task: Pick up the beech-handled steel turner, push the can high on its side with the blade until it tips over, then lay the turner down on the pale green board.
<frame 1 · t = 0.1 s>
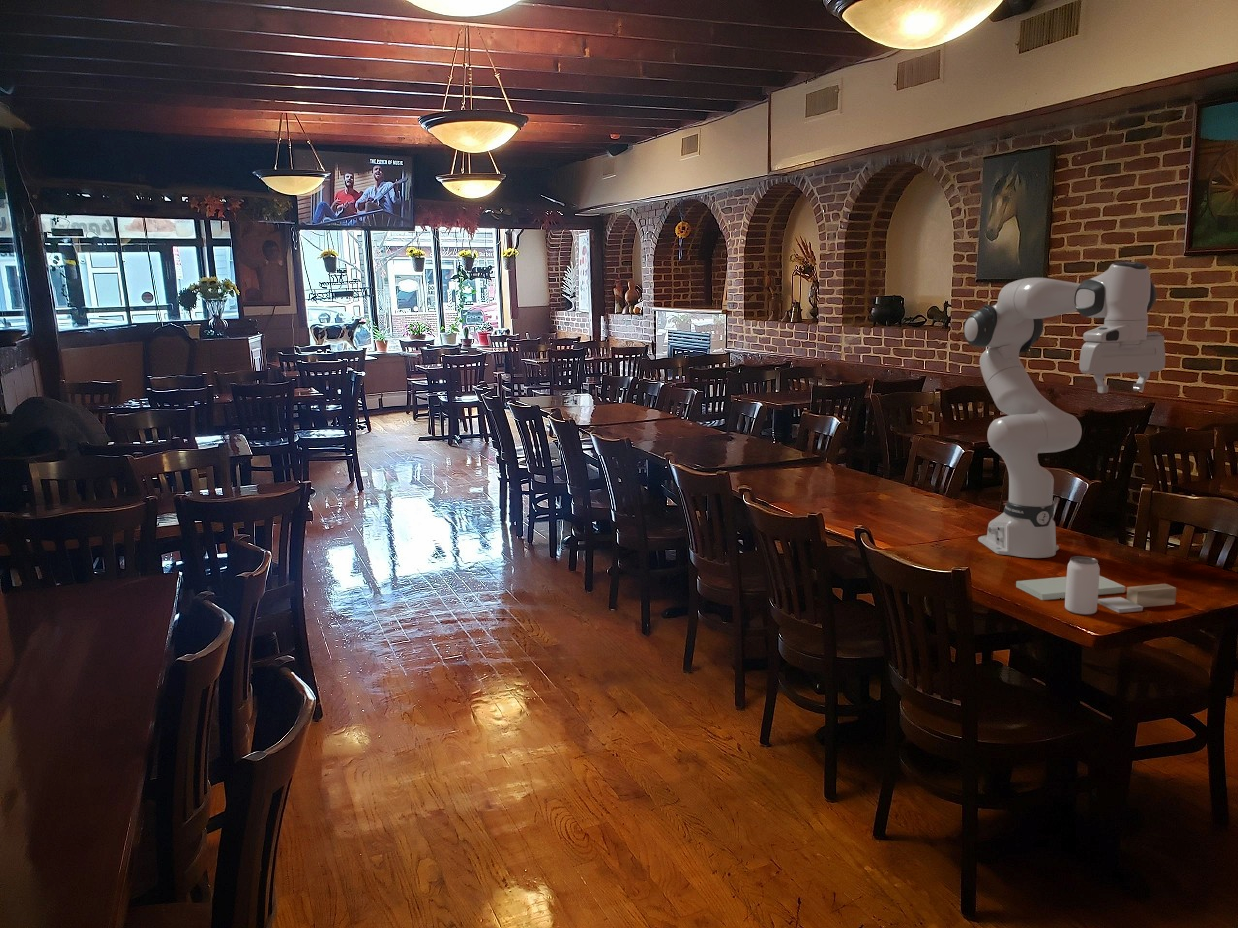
hand: (1120, 391, 203), 48 cm above the table, tool pointing down, fingers open, 8 cm apart
can: (1080, 611, 197), on the table
turner: (1131, 605, 199), on the table
rest board: (1069, 589, 210), on the table
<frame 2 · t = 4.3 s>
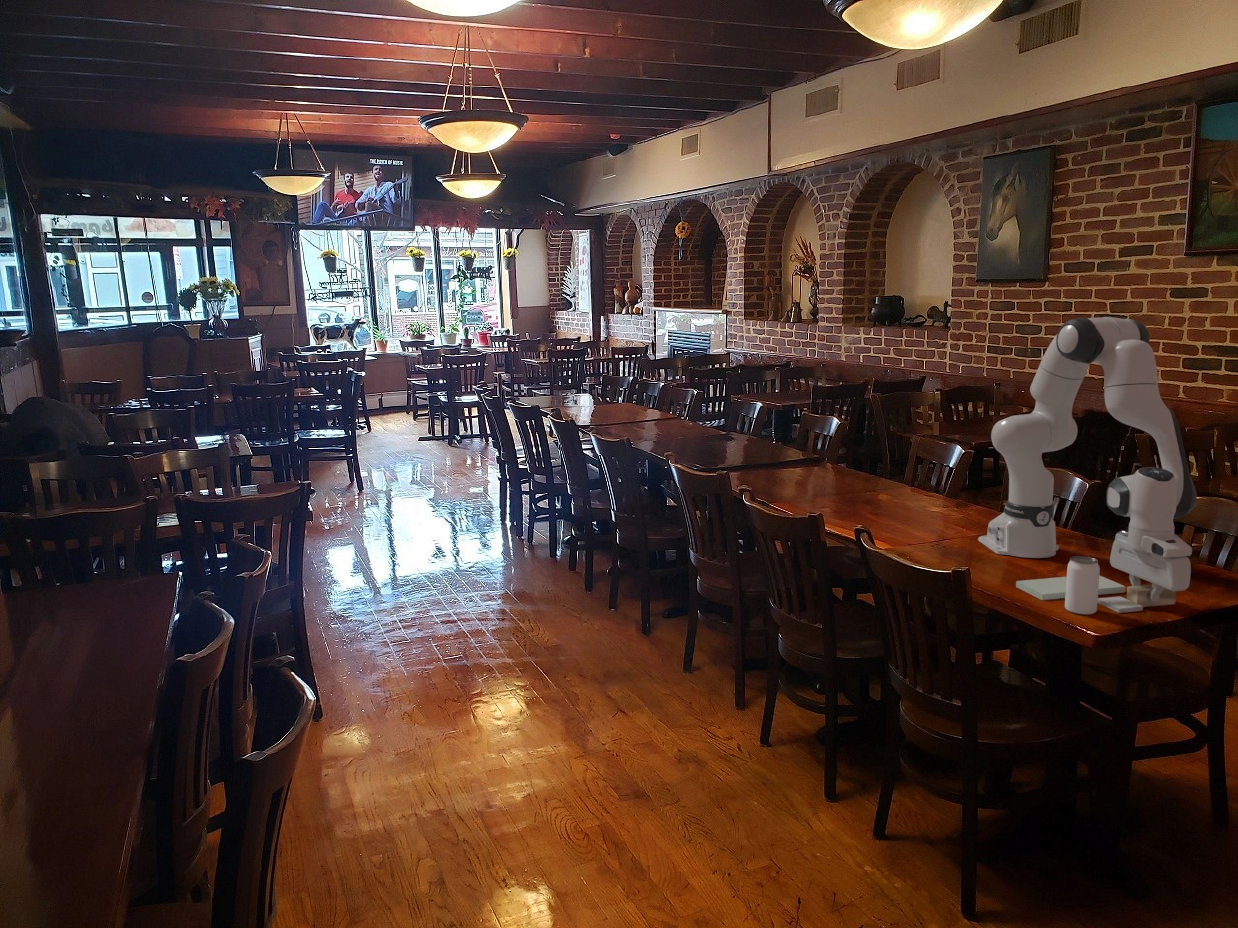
hand: (1145, 597, 199), 2 cm above the table, tool pointing down, fingers closed on turner, 3 cm apart
turner: (1131, 605, 199), on the table, touching gripper
everything else where it was.
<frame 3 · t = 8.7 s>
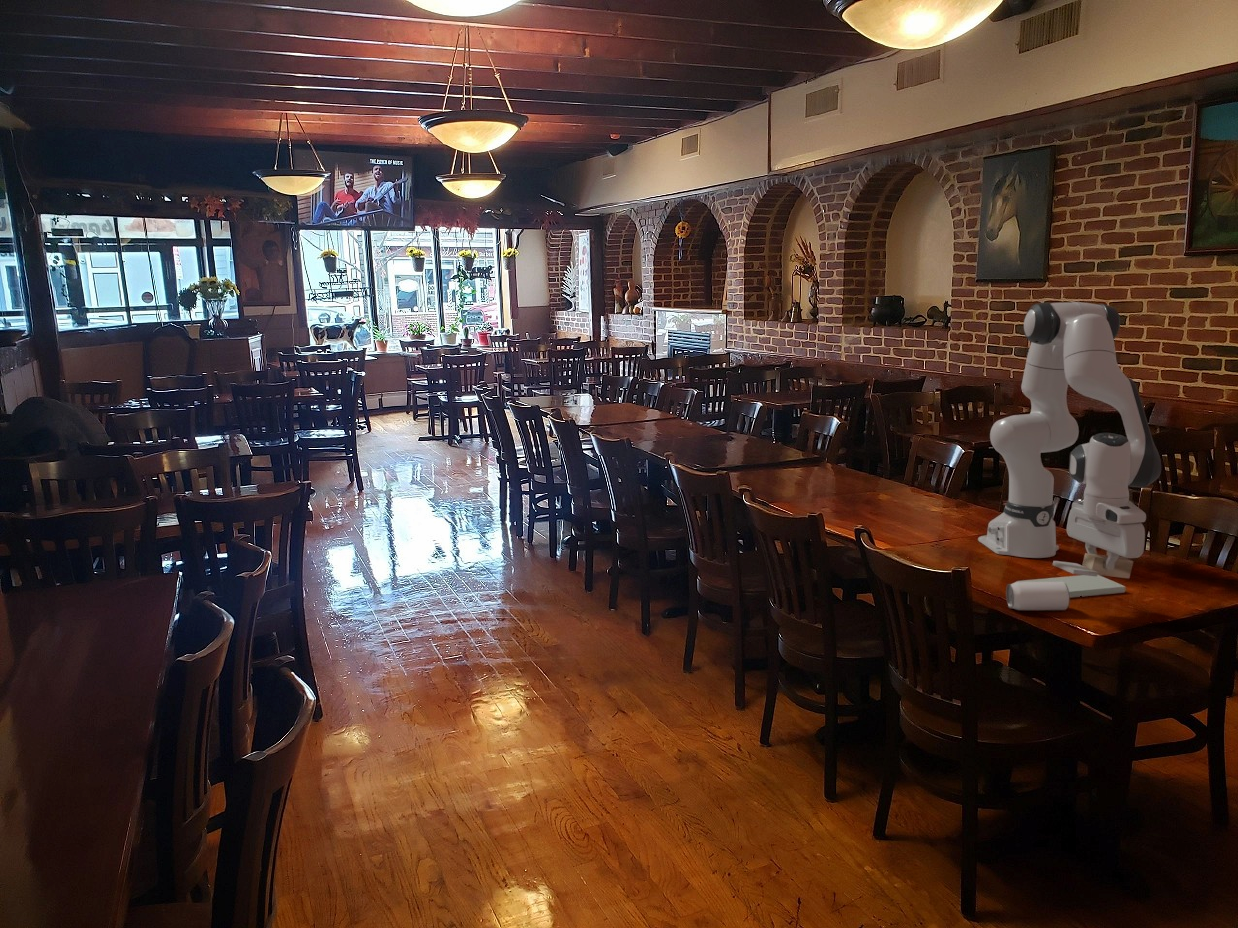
hand: (1100, 566, 195), 10 cm above the table, tool pointing down, fingers closed on turner, 3 cm apart
can: (1066, 595, 197), point 3 cm above the table
turner: (1085, 571, 195), point 9 cm above the table, tilted 11°, touching gripper
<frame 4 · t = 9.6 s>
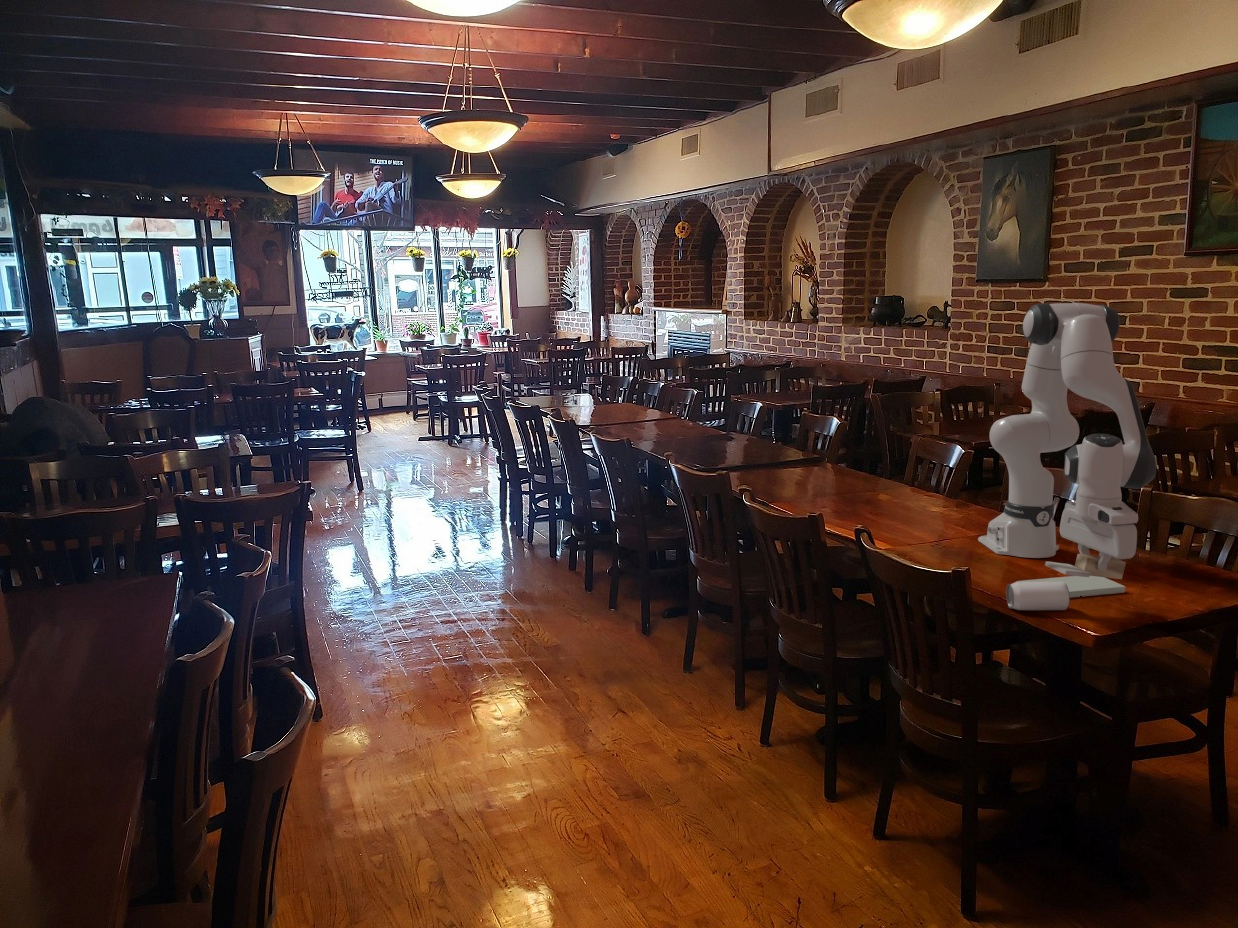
hand: (1093, 566, 195), 10 cm above the table, tool pointing down, fingers closed on turner, 3 cm apart
turner: (1078, 572, 195), point 9 cm above the table, tilted 11°, touching gripper
everything else where it was.
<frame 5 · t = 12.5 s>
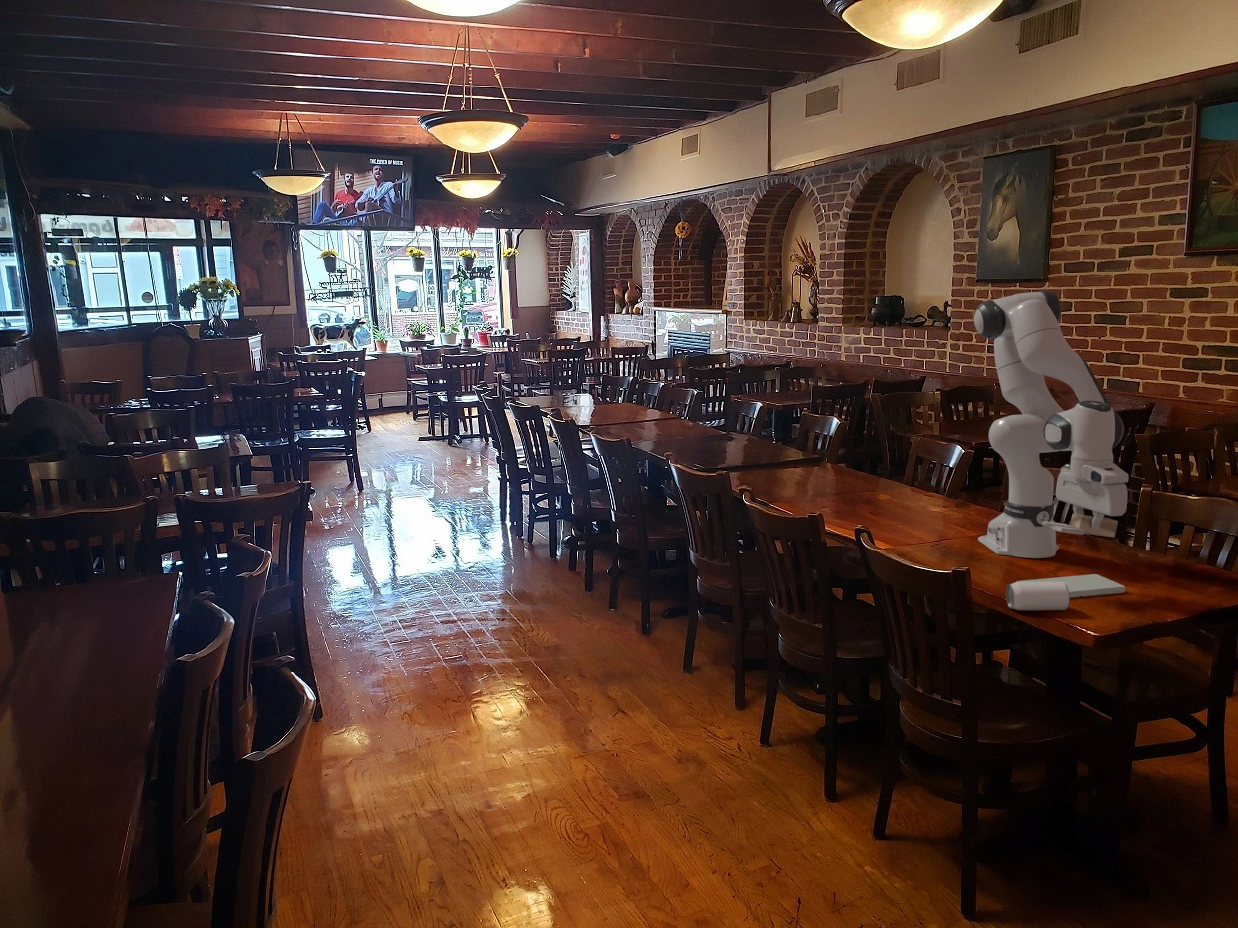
hand: (1087, 526, 208), 16 cm above the table, tool pointing down, fingers closed on turner, 3 cm apart
turner: (1073, 531, 207), point 15 cm above the table, tilted 11°, touching gripper
everything else where it was.
when the fingers open (5 cm above the table, at t = 15.0 s): turner drops 2 cm, resting on rest board.
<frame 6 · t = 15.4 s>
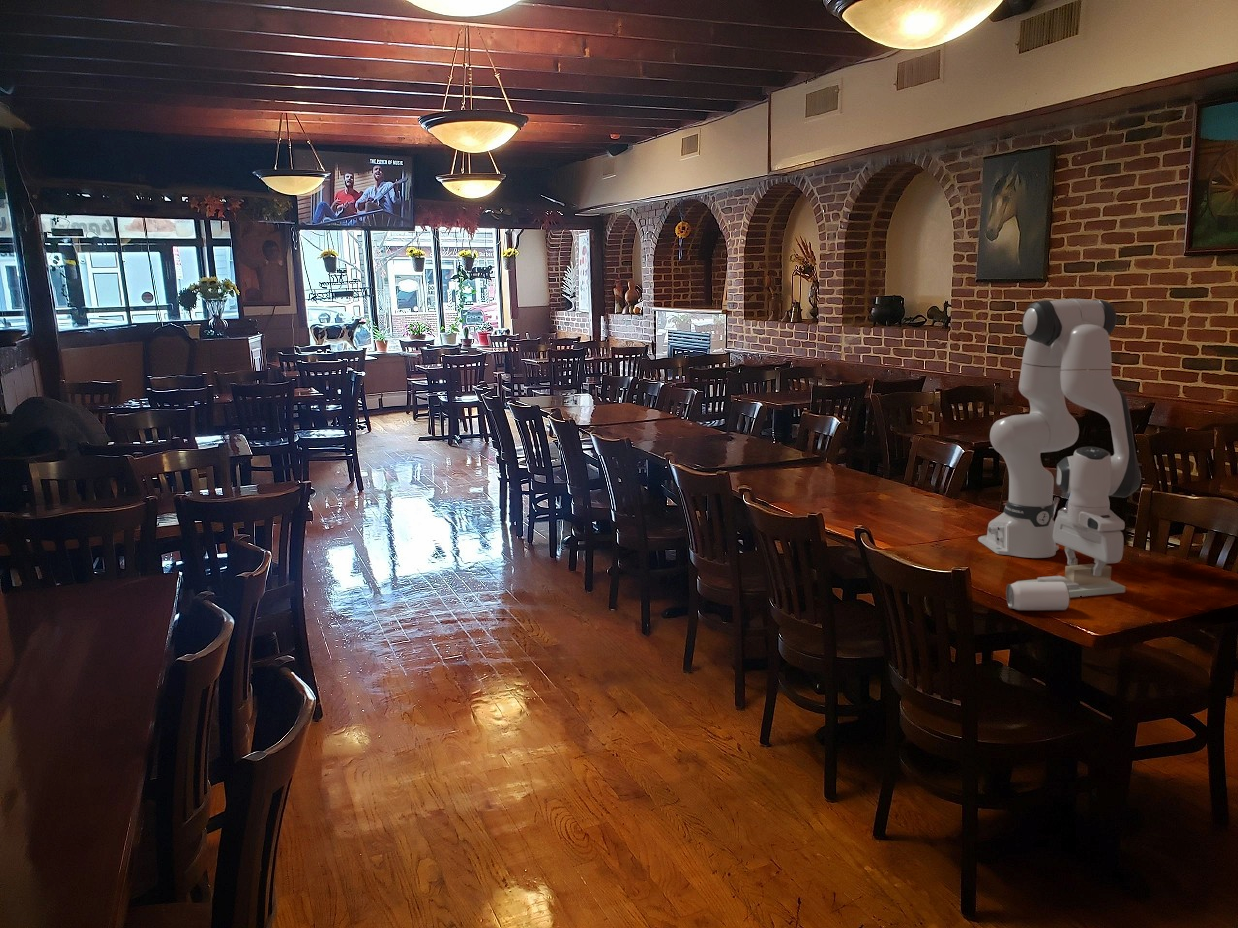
hand: (1083, 570, 210), 5 cm above the table, tool pointing down, fingers open, 7 cm apart
turner: (1068, 583, 210), point 1 cm above the table, touching rest board
everything else where it was.
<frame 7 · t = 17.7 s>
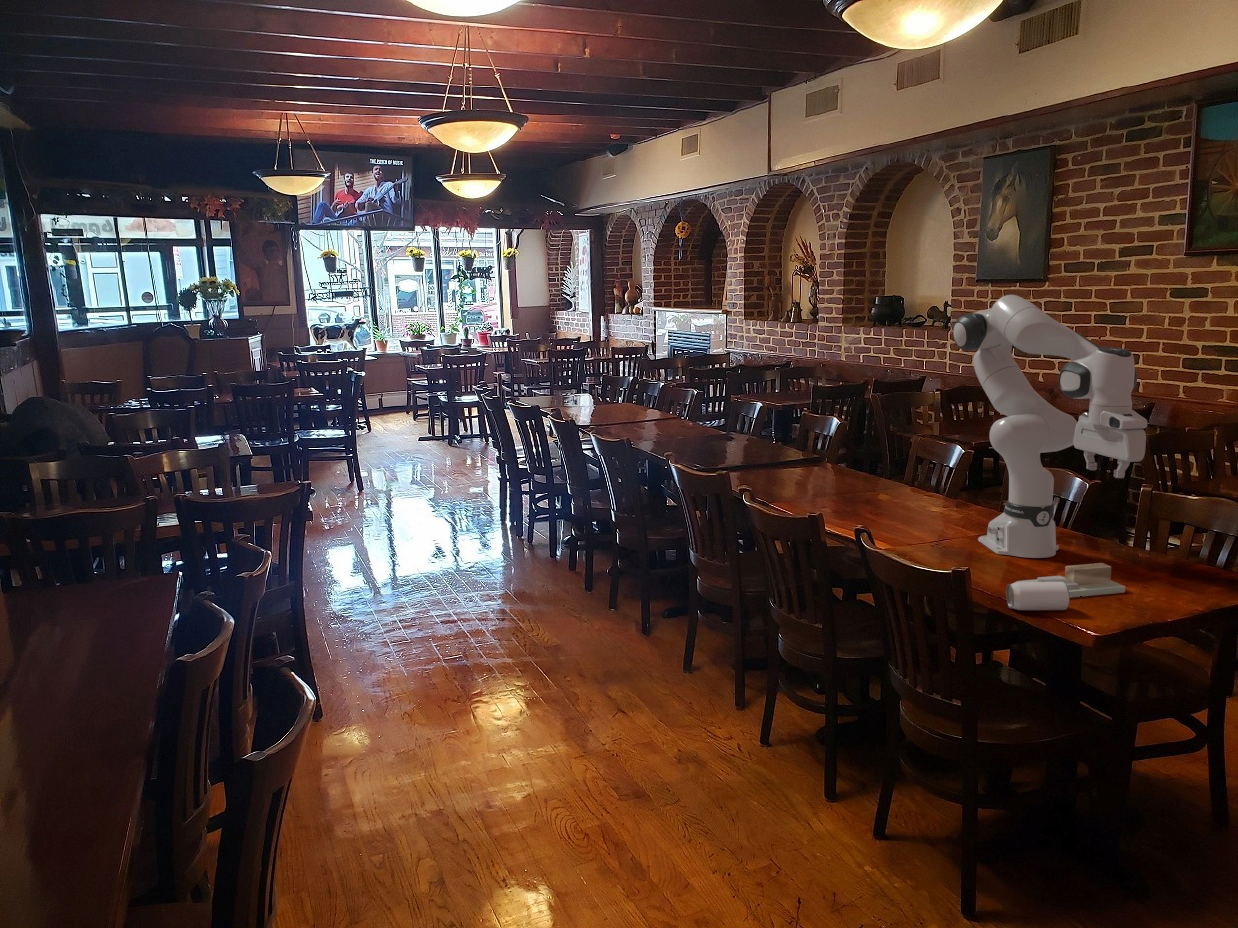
hand: (1104, 473, 207), 28 cm above the table, tool pointing down, fingers open, 8 cm apart
nothing on the table moved.
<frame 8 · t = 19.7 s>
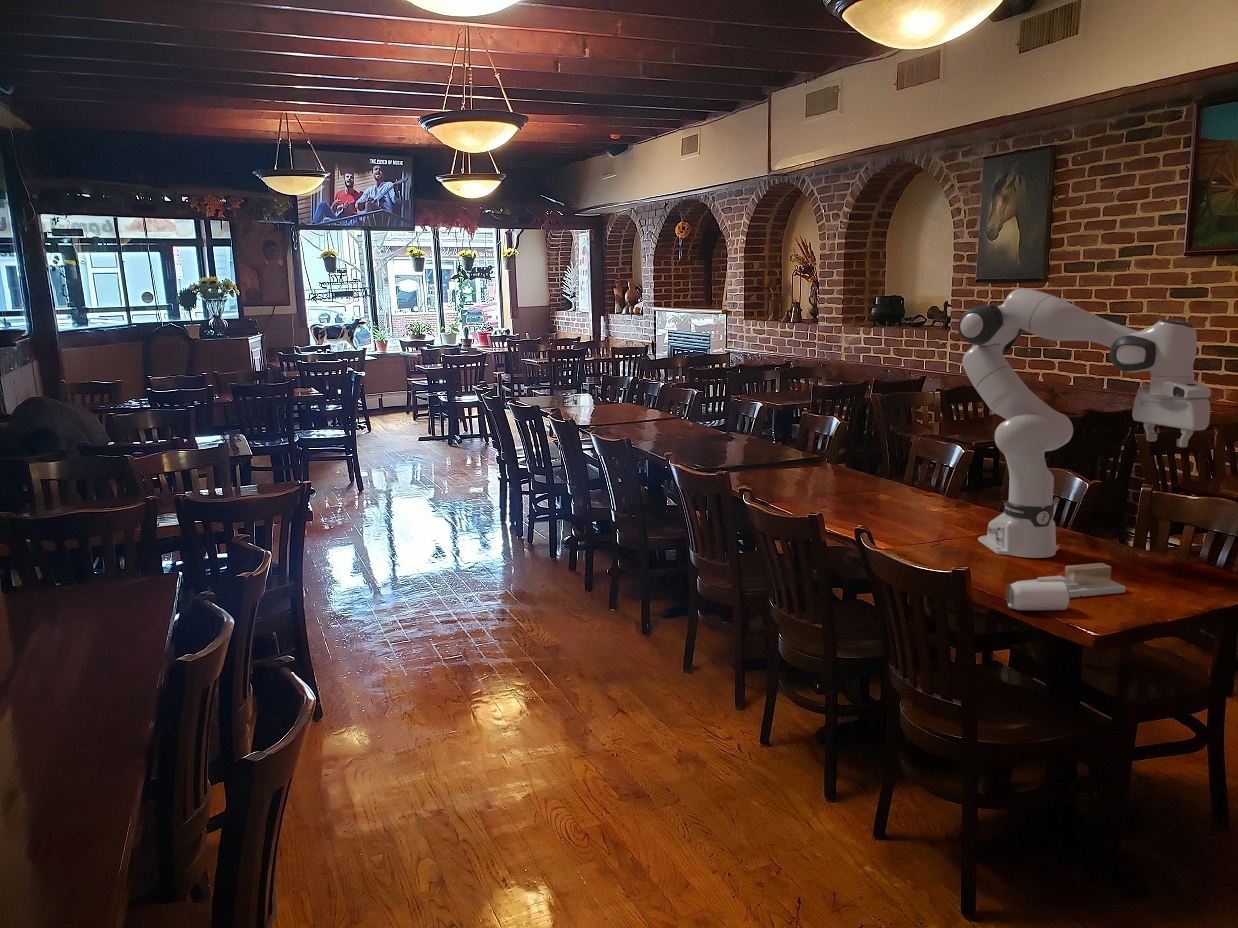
hand: (1166, 443, 211), 34 cm above the table, tool pointing down, fingers open, 8 cm apart
nothing on the table moved.
at the end: can tilted 92°; turner inside the target area on the rest board (0.3 cm from its centre), point 1.5 cm above the rest board's base; the gripper is holding nothing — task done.
